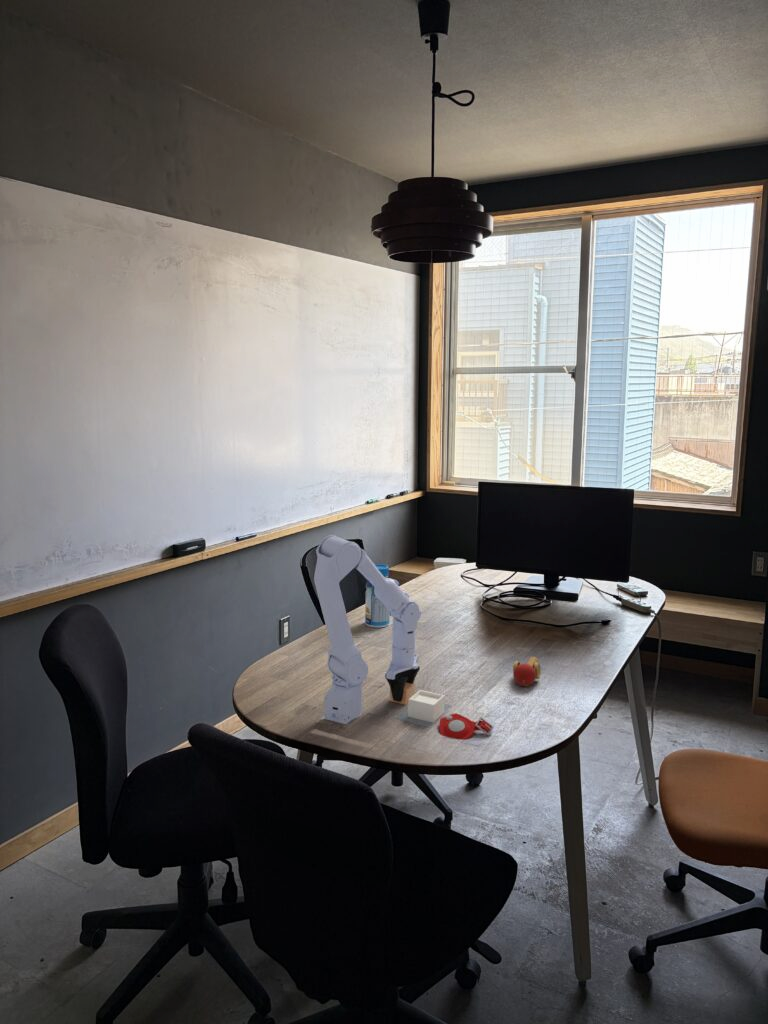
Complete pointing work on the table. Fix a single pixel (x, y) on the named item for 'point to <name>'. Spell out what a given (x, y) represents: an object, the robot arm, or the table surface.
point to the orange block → (405, 693)
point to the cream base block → (426, 706)
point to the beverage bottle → (376, 604)
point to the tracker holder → (462, 726)
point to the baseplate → (404, 717)
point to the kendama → (526, 672)
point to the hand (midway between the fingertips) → (401, 697)
